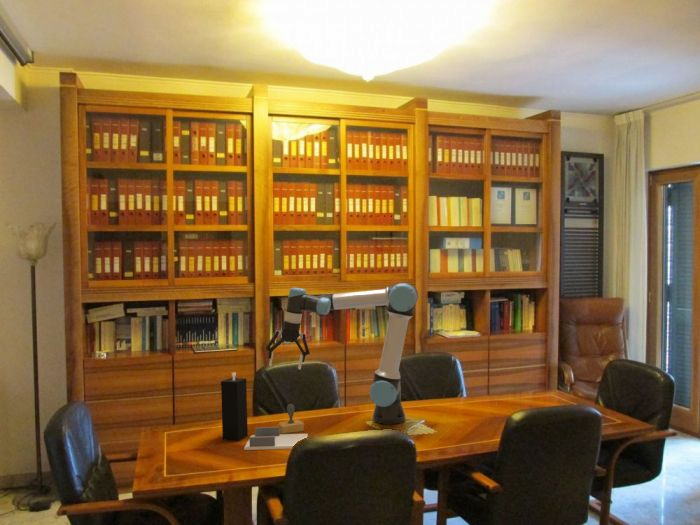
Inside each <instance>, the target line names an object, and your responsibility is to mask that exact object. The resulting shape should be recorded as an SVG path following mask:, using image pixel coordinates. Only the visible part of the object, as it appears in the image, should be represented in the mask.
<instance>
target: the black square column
mask: <svg viewBox="0 0 700 525" xmlns="http://www.w3.org/2000/svg"><path fill="white" fill-rule="evenodd" d="M236 375H237V372H234V371H233V372H231V377H230V378H226V379H224V380H222V381H220V388H221V389H220V390H221V392H220V393H221V394H220V395H221V396H220V397H221V422H222V424H221V426H222V428H221V429H222V430H221V431H222V432H221V433H222V441H223V440H224V441H232V442H240V441H241V440H243V439H244V438H246V437H248V436H249V435H248V430H249V429H248V399H247V398H248V396H247V390H248V389H247V378H245V377H244V378H242V377H240V378H239V377H236Z"/></svg>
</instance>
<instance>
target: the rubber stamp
mask: <svg viewBox="0 0 700 525" xmlns="http://www.w3.org/2000/svg"><path fill="white" fill-rule="evenodd" d="M286 411H287V414H288V416H289V420H287V421H283V422H279V423H278V427H279V434H295V433H300V432H304V431H305V424H304V422H303V421H302V420H300V419H296V420H293V418H294V414H295V411H296V410H295V405H294V404H293V403H289V404H287V407H286Z"/></svg>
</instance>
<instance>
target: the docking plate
mask: <svg viewBox="0 0 700 525" xmlns="http://www.w3.org/2000/svg"><path fill="white" fill-rule="evenodd" d="M254 431H255V434H252V435H250V437H249V439H248V440H247V442H246V443H245V446H244V447H243V448H244V449H243V450H244V451H256V450H257V451H260V450H262V451H263V450H264V451H265V450H290V449H291V450H293V449H292V447H293V446H294V445H295V444H296V443H297V442H298V441H300V440H302V439H304V438H307V437H309V433H288V434H281V433H280V432H279V426H260V427H259V426H258V427H257V426H256V427H255V430H254ZM307 439H308V438H307Z"/></svg>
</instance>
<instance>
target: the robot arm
mask: <svg viewBox="0 0 700 525" xmlns="http://www.w3.org/2000/svg"><path fill="white" fill-rule="evenodd" d="M418 299H419V292H418V289H417V288H416V287H415V285H413V284H411V283H409V282H400V283H397V284H395V285H391V286H390V285H388V286H387V287H386V288H381V289H370V290H359V291H351V292H340V293H333V294H332V293H330V294H326V293H325V294H320V295H317V296H316V295H311V294H307V290H306V289H305V288H300V287H291V288H289V292H288V296H287V303H286V310H285V315H284V321H283V326H282V331H281V330H278V329H276V330H275V332H274V335H273V336H272V338H271V339H270V340H269V342H267V344H266V346H265V347H264V348H265V350H266V351H268V354H267V358H268V360H269V363H268V366H269V367H272V365H273V359H274V350H276V349H277V348H278V347H279V346H280V345H282V343H284V342H286V343H295V345H297V347H298V349H299V351H300V352H301V353H300V355H299V360H298V367H297V369H298V370H302V364H303V363H305V358H306V356H308V355H310V349H309V347H308V343H307V340H306V334H305V333H304V332H303V333H300V328H301V322H302V316H303V312H304V311H305V312H310V313H315V314H319V315H328V314H329V312H330V311H336V310H347V309H360V308H368V307H381V306H382V307H383V306H387V309H386V312H387V314H388V315H389V317H388V322H387V327H386V333H385V336H384V341H383V347H382V352H381V356H380V361H379V367H378V368H377V369H376V370H375V371H374V375H373V379H372V384H371V385H370V388H369V397H370V399H371V401H372V402H373V403H374V404H375V406H374V409H373V413H372V422H374V421H375V422H374V423H376V422H379V423H378V424H380V423H383V424H382V425H396V424H397V425H398V424H402V423H404V422H405V421H406V412H405V410H404V408H403V405H402V390H401V389H402V387H401V372H400V370H399V369H400V365H401V359H402V354H403V351H404V345H405V341H406V335H407V330H408V325H409V320H410V319H411V318H413V317H414V313H415V309H416V304H417V302H418ZM280 335H281V336H282V337H280V338H279V339H278V340H277V338H278V336H280ZM299 337H300V338H301V340H302V343H303V346H304V348H303V347H302V345H301V344H300V342H299V341H298V339H299ZM276 340H277V341H276ZM275 341H276V342H275ZM274 342H275V343H274ZM304 349H305V350H304ZM403 421H404V422H403Z"/></svg>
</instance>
